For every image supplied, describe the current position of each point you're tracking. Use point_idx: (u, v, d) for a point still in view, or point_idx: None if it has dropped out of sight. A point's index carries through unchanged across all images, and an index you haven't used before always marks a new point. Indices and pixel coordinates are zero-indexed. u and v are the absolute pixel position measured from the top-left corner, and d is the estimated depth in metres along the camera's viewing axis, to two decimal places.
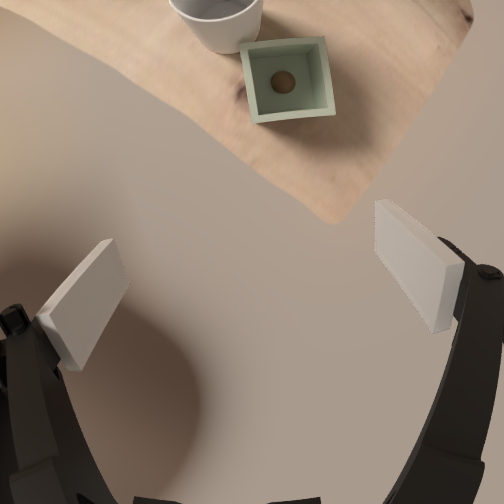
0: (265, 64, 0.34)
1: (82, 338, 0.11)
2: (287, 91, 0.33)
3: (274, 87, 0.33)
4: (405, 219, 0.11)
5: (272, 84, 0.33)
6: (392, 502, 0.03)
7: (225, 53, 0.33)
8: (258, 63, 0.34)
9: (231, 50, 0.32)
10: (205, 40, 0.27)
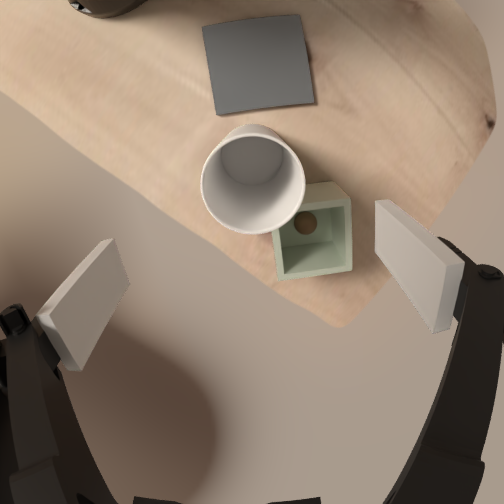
0: None
1: (82, 338, 0.11)
2: None
3: (297, 230, 0.39)
4: (405, 219, 0.11)
5: (295, 227, 0.39)
6: (392, 502, 0.03)
7: None
8: None
9: None
10: None
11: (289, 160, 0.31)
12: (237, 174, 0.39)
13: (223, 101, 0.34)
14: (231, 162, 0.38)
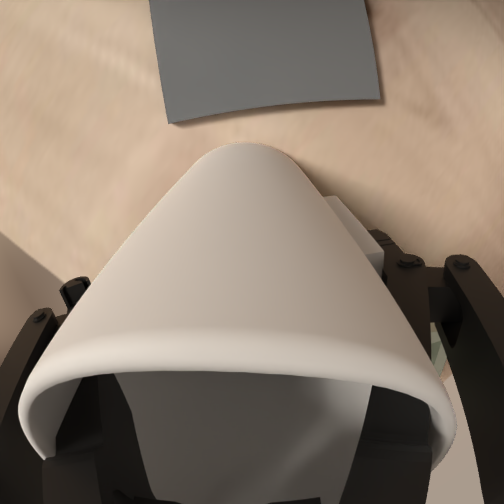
0: None
1: None
2: None
3: None
4: (342, 213, 0.13)
5: None
6: (341, 500, 0.03)
7: None
8: None
9: None
10: None
11: None
12: None
13: (182, 92, 0.15)
14: None
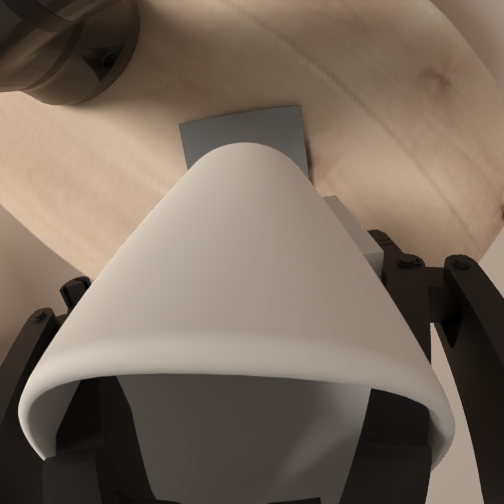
0: None
1: None
2: None
3: None
4: (342, 213, 0.13)
5: None
6: (341, 500, 0.03)
7: None
8: None
9: None
10: None
11: None
12: None
13: None
14: None
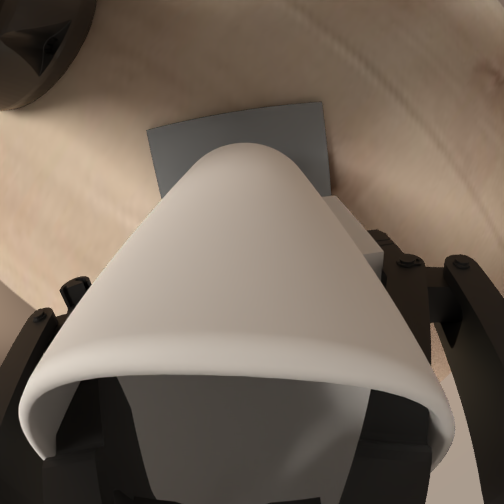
0: None
1: None
2: None
3: None
4: (342, 213, 0.13)
5: None
6: (340, 500, 0.03)
7: None
8: None
9: None
10: None
11: None
12: None
13: None
14: None
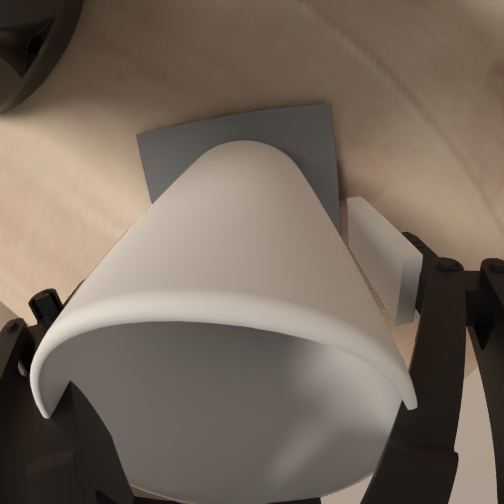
0: None
1: None
2: None
3: None
4: (372, 215, 0.12)
5: None
6: (365, 500, 0.03)
7: None
8: None
9: None
10: None
11: None
12: None
13: None
14: None
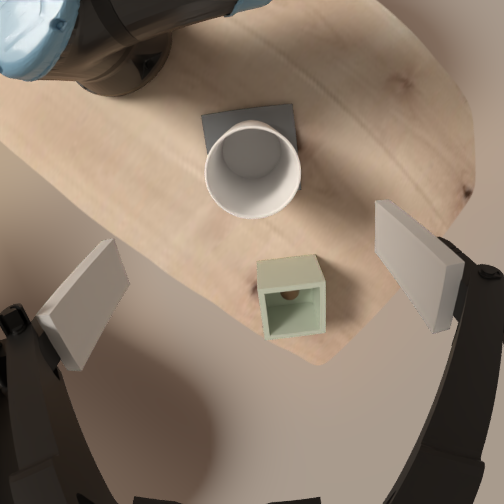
0: None
1: (82, 338, 0.11)
2: (292, 299, 0.48)
3: (282, 296, 0.47)
4: (405, 219, 0.11)
5: (281, 294, 0.47)
6: (392, 502, 0.03)
7: None
8: None
9: None
10: None
11: (286, 154, 0.33)
12: (237, 167, 0.41)
13: None
14: (231, 156, 0.40)
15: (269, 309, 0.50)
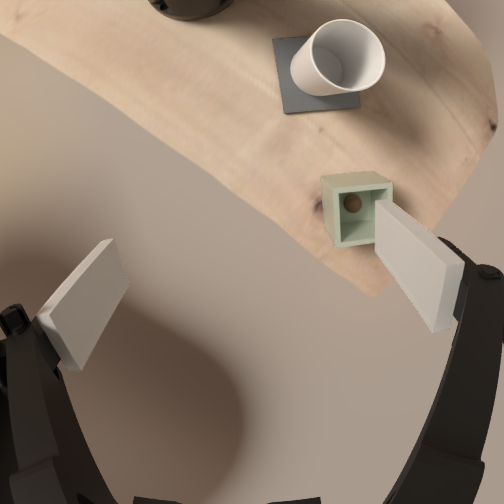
0: None
1: (82, 338, 0.11)
2: (355, 212, 0.47)
3: (346, 209, 0.47)
4: (405, 219, 0.11)
5: (345, 206, 0.47)
6: (392, 502, 0.03)
7: (316, 95, 0.41)
8: None
9: (324, 95, 0.40)
10: (314, 89, 0.35)
11: (358, 62, 0.33)
12: None
13: (290, 102, 0.42)
14: None
15: None
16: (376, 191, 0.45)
